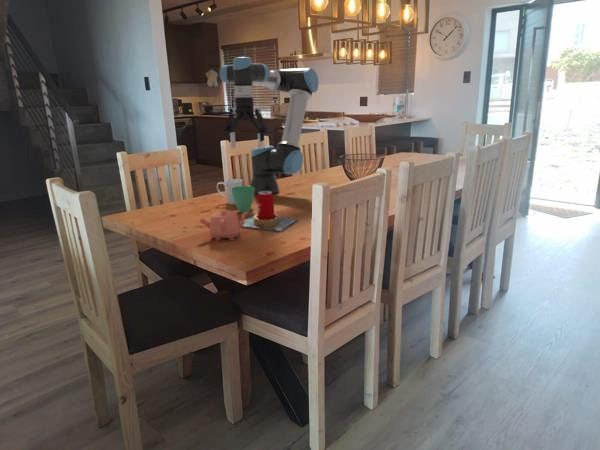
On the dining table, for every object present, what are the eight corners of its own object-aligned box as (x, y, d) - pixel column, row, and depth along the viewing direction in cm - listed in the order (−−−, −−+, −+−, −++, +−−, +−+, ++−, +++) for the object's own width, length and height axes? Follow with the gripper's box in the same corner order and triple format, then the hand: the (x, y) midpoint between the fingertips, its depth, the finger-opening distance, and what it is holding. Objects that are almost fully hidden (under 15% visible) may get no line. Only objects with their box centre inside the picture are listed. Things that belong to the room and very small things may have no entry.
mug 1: (244, 200, 211) (243, 178, 208) (242, 204, 203) (241, 182, 200) (219, 200, 211) (217, 179, 208) (216, 205, 203) (214, 182, 200)
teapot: (217, 246, 150) (215, 217, 147) (199, 238, 158) (197, 210, 155) (251, 236, 159) (249, 209, 156) (232, 229, 167) (231, 203, 164)
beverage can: (267, 218, 178) (266, 189, 174) (277, 221, 173) (276, 192, 170) (255, 222, 174) (253, 192, 170) (265, 225, 169) (264, 194, 166)
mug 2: (252, 214, 187) (250, 191, 184) (230, 213, 189) (228, 190, 186) (260, 205, 201) (259, 184, 198) (240, 204, 203) (238, 183, 200)
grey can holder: (254, 215, 184) (254, 209, 184) (298, 220, 177) (297, 213, 176) (234, 226, 171) (233, 219, 170) (280, 232, 163) (280, 224, 162)
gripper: (213, 97, 184) (217, 148, 190) (266, 96, 174) (268, 150, 180) (223, 97, 190) (227, 146, 197) (274, 96, 180) (276, 148, 187)
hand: (246, 148), depth 188 cm, fingers open, 13 cm apart
